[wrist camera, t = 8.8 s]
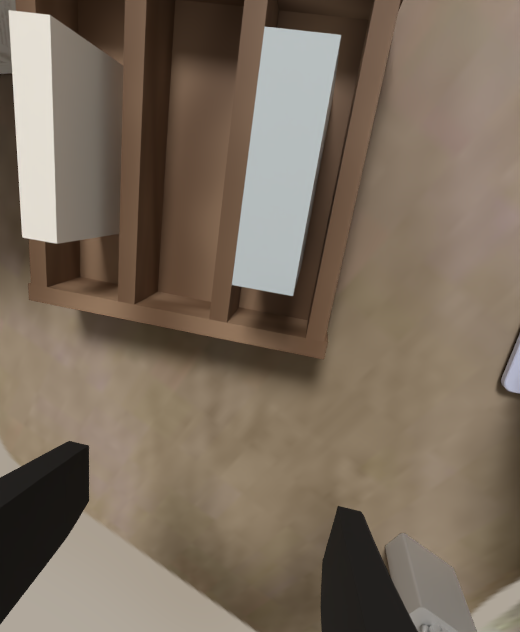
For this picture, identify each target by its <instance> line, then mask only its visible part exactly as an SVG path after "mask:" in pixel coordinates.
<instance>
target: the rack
mask: <svg viewBox="0 0 520 632" xmlns="http://www.w3.org/2000/svg"><path fill="white" fill-rule="evenodd" d="M15 1H16V11H20V12H29V13H38V14H47V15H51V16H52V17H54V18H55V19H57V20H58V21H60V22H61V23H62V24H64V25H65V26H67V27H68V28H70V29H71V30H73V31H74V32H75V33H77V34H78V35H80V36H81V37H83V38H84V39H86V40H87V41H88V42H90V43H91V44H93V45H94V46H96V47H97V48H99V49H100V50H101V51H103V52H104V53H106V54H107V55H109V56H110V57H112V58H113V59H114V60H116V61H117V62H119V63H120V64H122V65H123V106H122V147H121V188H120V230H119V234H115V235H109V236H102V237H96V238H90V239H84V240H77V241H71V242H65V243H59V244H56V243H50V242H45V241H39V240H34V239H29V255H30V274H31V283H29V284H28V290H29V300H32V301H37V302H42V303H47V304H52V305H56V306H61V307H66V308H71V309H76V310H81V311H86V312H91V313H96V314H101V315H106V316H111V317H116V318H121V319H126V320H131V321H136V322H141V323H146V324H151V325H156V326H161V327H165V328H170V329H175V330H180V331H185V332H190V333H195V334H200V335H205V336H210V337H215V338H220V339H225V340H230V341H235V342H240V343H245V344H250V345H255V346H260V347H265V348H269V349H274V350H279V351H284V352H289V353H294V354H299V355H304V356H309V357H314V358H319V359H324V357H325V353H326V348H327V344H328V337H327V328H328V323H329V319H330V314H331V310H332V305H333V301H334V296H335V292H336V287H337V283H338V278H339V274H340V270H341V265H342V261H343V256H344V252H345V247H346V243H347V238H348V234H349V229H350V225H351V220H352V216H353V211H354V207H355V202H356V198H357V193H358V189H359V184H360V180H361V176H362V171H363V167H364V162H365V158H366V153H367V149H368V144H369V140H370V135H371V131H372V126H373V122H374V117H375V113H376V108H377V104H378V99H379V95H380V90H381V86H382V81H383V77H384V73H385V68H386V64H387V59H388V55H389V50H390V46H391V41H392V37H393V32H394V28H395V23H396V19H397V14H398V11H399V8H400V6H401V3H402V1H403V0H15ZM265 27H274V28H283V29H292V30H301V31H310V32H319V33H328V34H337V35H341V40H340V48H339V56H338V64H337V72H336V79H335V87H334V95H333V101H332V107H331V112H330V117H329V123H328V128H327V133H326V139H325V144H324V149H323V155H322V160H321V165H320V171H319V176H318V181H317V187H316V192H315V197H314V203H313V208H312V213H311V219H310V224H309V229H308V235H307V240H306V245H305V251H304V256H303V261H302V266H301V270H300V273H299V277H298V280H297V284H296V287H295V291H294V294H293V296H289V295H284V294H278V293H273V292H268V291H262V290H257V289H251V288H246V287H241V286H235V285H232V279H233V271H234V263H235V255H236V248H237V240H238V232H239V224H240V216H241V208H242V200H243V193H244V185H245V177H246V169H247V161H248V153H249V145H250V138H251V130H252V122H253V114H254V106H255V98H256V90H257V83H258V75H259V67H260V59H261V51H262V43H263V35H264V28H265Z"/></svg>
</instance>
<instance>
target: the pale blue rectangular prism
mask: <svg viewBox="0 0 520 632" xmlns="http://www.w3.org/2000/svg"><path fill="white" fill-rule="evenodd" d="M340 40H341V35H337V34H328V33H319V32H310V31H301V30H292V29H283V28H274V27H265V28H264V35H263V43H262V51H261V59H260V67H259V75H258V83H257V90H256V98H255V106H254V114H253V122H252V130H251V138H250V145H249V153H248V161H247V169H246V177H245V185H244V193H243V200H242V208H241V216H240V224H239V232H238V240H237V248H236V255H235V263H234V271H233V279H232V285H235V286H241V287H246V288H251V289H257V290H262V291H268V292H273V293H278V294H284V295H289V296H293V294H294V291H295V287H296V284H297V280H298V277H299V273H300V270H301V266H302V261H303V256H304V251H305V245H306V240H307V235H308V229H309V224H310V219H311V213H312V208H313V203H314V197H315V192H316V187H317V181H318V176H319V171H320V165H321V160H322V155H323V149H324V144H325V139H326V133H327V128H328V123H329V117H330V112H331V107H332V101H333V95H334V87H335V79H336V72H337V64H338V56H339V48H340Z"/></svg>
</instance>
